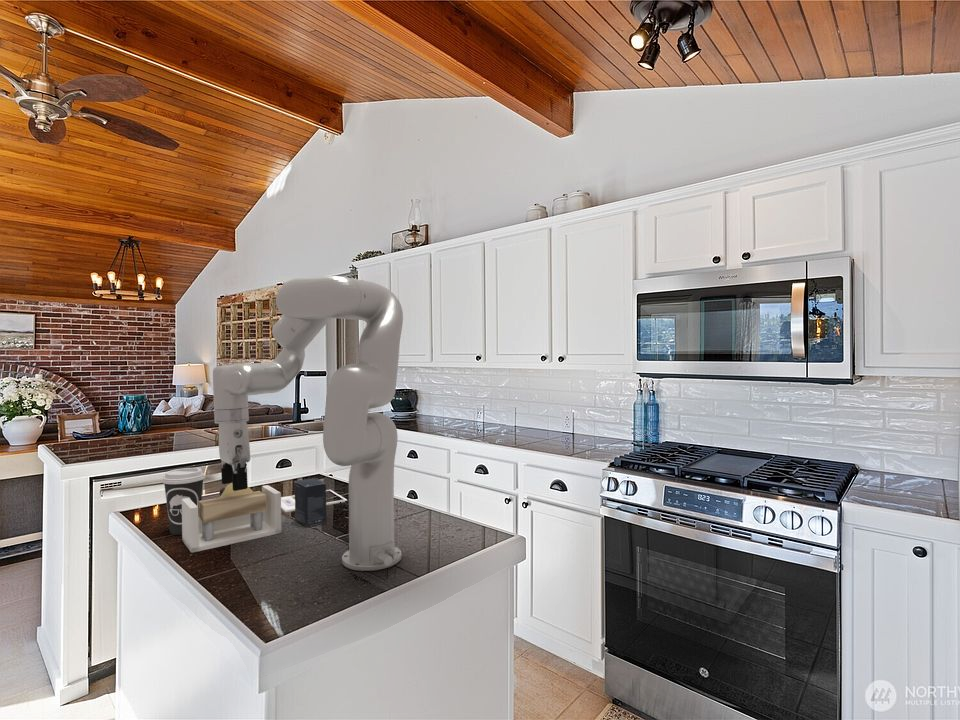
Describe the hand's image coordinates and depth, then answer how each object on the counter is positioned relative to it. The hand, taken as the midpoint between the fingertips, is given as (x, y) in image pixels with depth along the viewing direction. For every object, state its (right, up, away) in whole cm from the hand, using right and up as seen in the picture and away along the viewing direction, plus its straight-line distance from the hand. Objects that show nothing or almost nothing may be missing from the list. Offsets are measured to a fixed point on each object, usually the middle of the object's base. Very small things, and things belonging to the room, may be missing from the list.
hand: (234, 486), depth 128 cm
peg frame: (-1, -12, 0) cm, 12 cm away
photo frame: (+8, -13, +31) cm, 35 cm away
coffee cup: (-15, -13, +5) cm, 20 cm away
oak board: (-1, -7, 0) cm, 7 cm away
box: (+15, -12, +12) cm, 23 cm away
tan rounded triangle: (-6, -13, +15) cm, 21 cm away
